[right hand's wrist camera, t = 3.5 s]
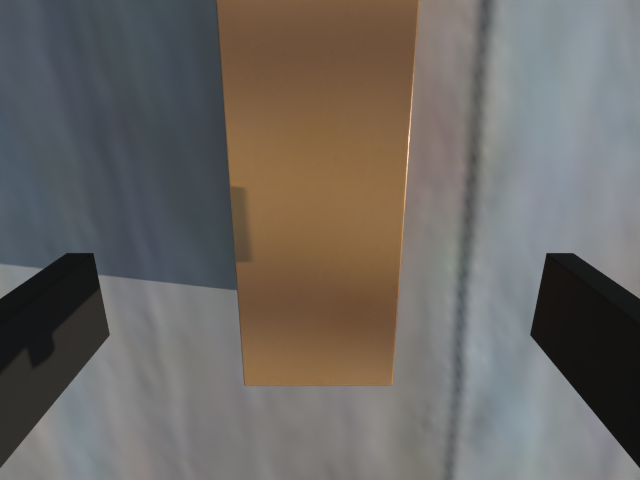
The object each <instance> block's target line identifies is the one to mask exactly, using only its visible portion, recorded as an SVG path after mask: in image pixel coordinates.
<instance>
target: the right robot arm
mask: <svg viewBox="0 0 640 480" xmlns="http://www.w3.org/2000/svg"><path fill="white" fill-rule="evenodd" d="M109 335H110V334H109V329H108V324H107V319H106V314H105V309H104V304H103V299H102V294H101V289H100V284H99V279H98V274H97V269H96V264H95V259H94V254H93V253H66V254H65V255H64V256H62V257H61V258H59V259H58V260H56V261H55V262H53V263H52V264H50V265H49V266H48V267H46V268H45V269H43V270H42V271H40V272H39V273H37V274H36V275H34V276H33V277H32V278H30V279H29V280H27V281H26V282H24V283H23V284H21V285H20V286H18V287H17V288H15V289H14V290H13V291H11V292H10V293H8V294H7V295H5V296H4V297H2V298H1V299H0V468H1V466H2V465H3V464H4V463H5V462H6V460H7V459H8V458H9V457H10V456H11V454H12V453H13V452H14V451H15V449H16V448H17V447H18V446H19V445H20V443H21V442H22V441H23V440H24V439H25V437H26V436H27V435H28V434H29V432H30V431H31V430H32V429H33V428H34V426H35V425H36V424H37V423H38V422H39V420H40V419H41V418H42V417H43V415H44V414H45V413H46V412H47V411H48V409H49V408H50V407H51V406H52V405H53V403H54V402H55V401H56V400H57V398H58V397H59V396H60V395H61V394H62V392H63V391H64V390H65V389H66V388H67V386H68V385H69V384H70V383H71V381H72V380H73V379H74V378H75V377H76V375H77V374H78V373H79V372H80V371H81V369H82V368H83V367H84V366H85V364H86V363H87V362H88V361H89V360H90V358H91V357H92V356H93V355H94V354H95V352H96V351H97V350H98V349H99V347H100V346H101V345H102V344H103V343H104V341H105V340H106V339H107V338H108V337H109ZM530 335H531V337H532V338H533V339H534V340H535V341H536V343H537V344H538V345H539V346H540V347H541V349H542V350H543V351H544V352H545V354H546V355H547V356H548V357H549V358H550V360H551V361H552V362H553V363H554V364H555V366H556V367H557V368H558V369H559V371H560V372H561V373H562V374H563V375H564V377H565V378H566V379H567V380H568V381H569V383H570V384H571V385H572V386H573V388H574V389H575V390H576V391H577V392H578V394H579V395H580V396H581V397H582V398H583V400H584V401H585V402H586V403H587V405H588V406H589V407H590V408H591V409H592V411H593V412H594V413H595V414H596V415H597V417H598V418H599V419H600V420H601V422H602V423H603V424H604V425H605V426H606V428H607V429H608V430H609V431H610V432H611V434H612V435H613V436H614V437H615V439H616V440H617V441H618V442H619V443H620V445H621V446H622V447H623V448H624V449H625V451H626V452H627V453H628V454H629V456H630V457H631V458H632V459H633V460H634V462H635V463H636V464H637V465H638V466H639V468H640V299H639V298H638V297H636V296H635V295H633V294H632V293H630V292H629V291H627V290H626V289H625V288H623V287H622V286H620V285H619V284H617V283H616V282H614V281H613V280H611V279H610V278H608V277H607V276H606V275H604V274H603V273H601V272H600V271H598V270H597V269H595V268H594V267H592V266H591V265H590V264H588V263H587V262H585V261H584V260H582V259H581V258H579V257H578V256H576V255H575V254H574V253H547V254H546V259H545V264H544V269H543V274H542V279H541V284H540V289H539V294H538V299H537V304H536V309H535V314H534V319H533V324H532V329H531V334H530Z"/></svg>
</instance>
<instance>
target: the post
mask: <svg viewBox="0 0 640 480" xmlns="http://www.w3.org/2000/svg"><path fill="white" fill-rule="evenodd" d="M216 8H217V21H218V35H219V48H220V62H221V76H222V89H223V103H224V116H225V130H226V144H227V157H228V171H229V184H230V198H231V212H232V225H233V239H234V252H235V266H236V280H237V293H238V307H239V320H240V334H241V347H242V361H243V375H244V385H245V386H392V382H393V368H394V354H395V340H396V325H397V311H398V297H399V283H400V268H401V254H402V240H403V226H404V211H405V197H406V183H407V169H408V154H409V140H410V126H411V112H412V97H413V83H414V69H415V55H416V40H417V26H418V12H419V0H216Z"/></svg>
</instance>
